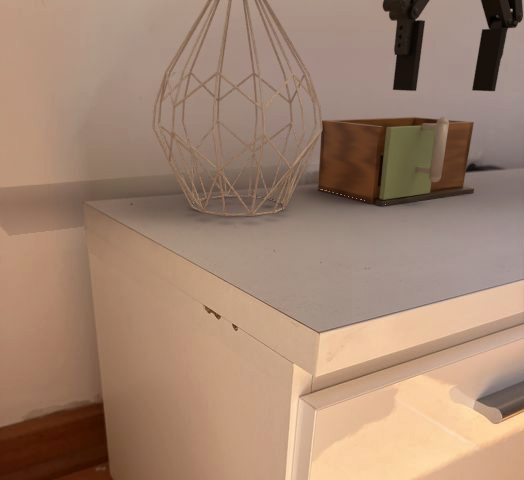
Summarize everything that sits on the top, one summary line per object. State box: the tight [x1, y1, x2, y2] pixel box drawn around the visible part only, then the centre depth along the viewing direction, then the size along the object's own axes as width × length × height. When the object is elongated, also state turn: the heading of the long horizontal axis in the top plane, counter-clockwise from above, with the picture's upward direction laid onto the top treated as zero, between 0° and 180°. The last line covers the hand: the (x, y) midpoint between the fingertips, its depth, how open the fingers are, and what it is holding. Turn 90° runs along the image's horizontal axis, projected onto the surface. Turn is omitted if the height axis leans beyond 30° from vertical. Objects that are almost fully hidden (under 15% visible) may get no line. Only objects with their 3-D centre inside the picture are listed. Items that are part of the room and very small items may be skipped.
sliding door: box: [379, 116, 450, 200], centre depth 69 cm, size 4×8×10 cm, turn 124°
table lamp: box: [152, 0, 323, 217], centre depth 60 cm, size 22×22×40 cm
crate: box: [317, 116, 475, 207], centre depth 77 cm, size 12×18×9 cm
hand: (445, 91), depth 65 cm, fingers open, 13 cm apart
